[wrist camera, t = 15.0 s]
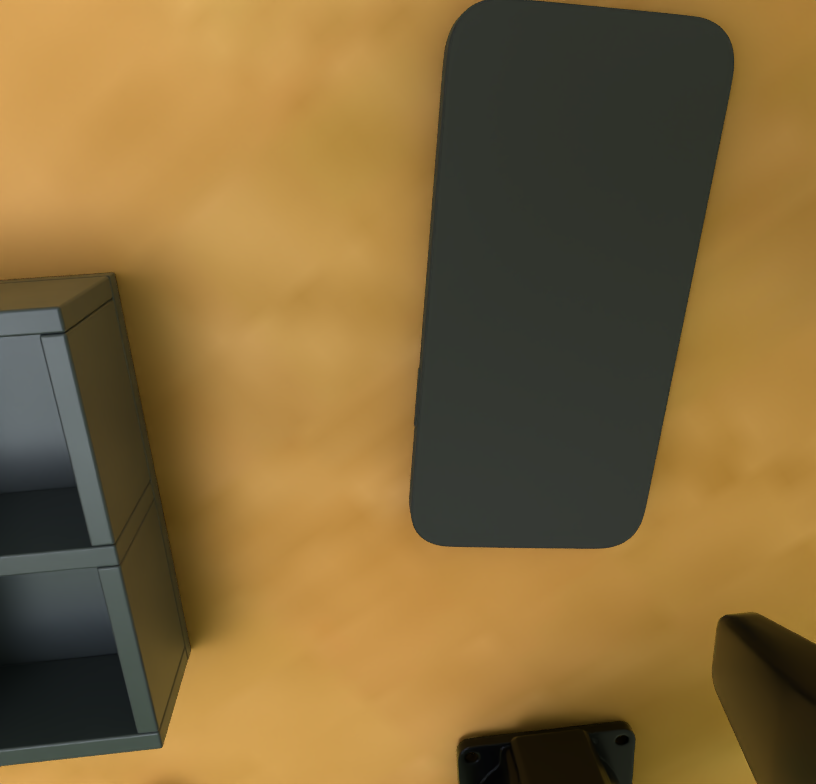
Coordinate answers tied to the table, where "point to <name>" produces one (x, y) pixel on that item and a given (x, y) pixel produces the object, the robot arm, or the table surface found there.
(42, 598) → the grid
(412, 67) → the table surface
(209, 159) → the table surface
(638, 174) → the phone
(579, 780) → the robot arm
